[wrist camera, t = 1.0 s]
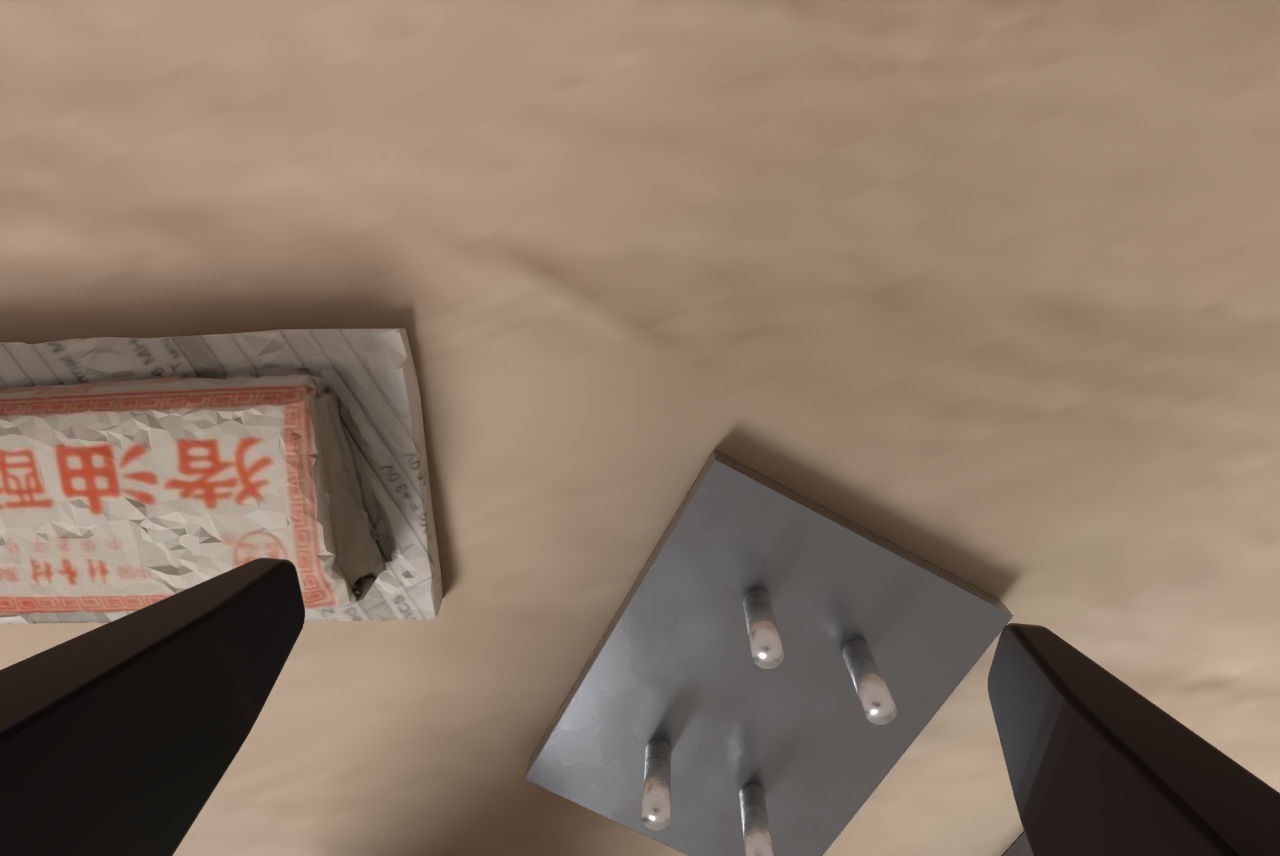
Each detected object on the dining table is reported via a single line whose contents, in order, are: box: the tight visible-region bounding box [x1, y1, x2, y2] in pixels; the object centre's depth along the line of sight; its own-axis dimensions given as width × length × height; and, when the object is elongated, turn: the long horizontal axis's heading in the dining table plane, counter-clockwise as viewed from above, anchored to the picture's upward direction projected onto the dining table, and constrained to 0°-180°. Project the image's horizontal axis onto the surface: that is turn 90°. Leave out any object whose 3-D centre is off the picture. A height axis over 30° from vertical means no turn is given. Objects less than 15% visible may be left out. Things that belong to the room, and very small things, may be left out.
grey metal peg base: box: [525, 450, 1013, 856], centre depth 23 cm, size 14×11×4 cm
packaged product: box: [0, 328, 442, 624], centre depth 22 cm, size 18×5×10 cm
